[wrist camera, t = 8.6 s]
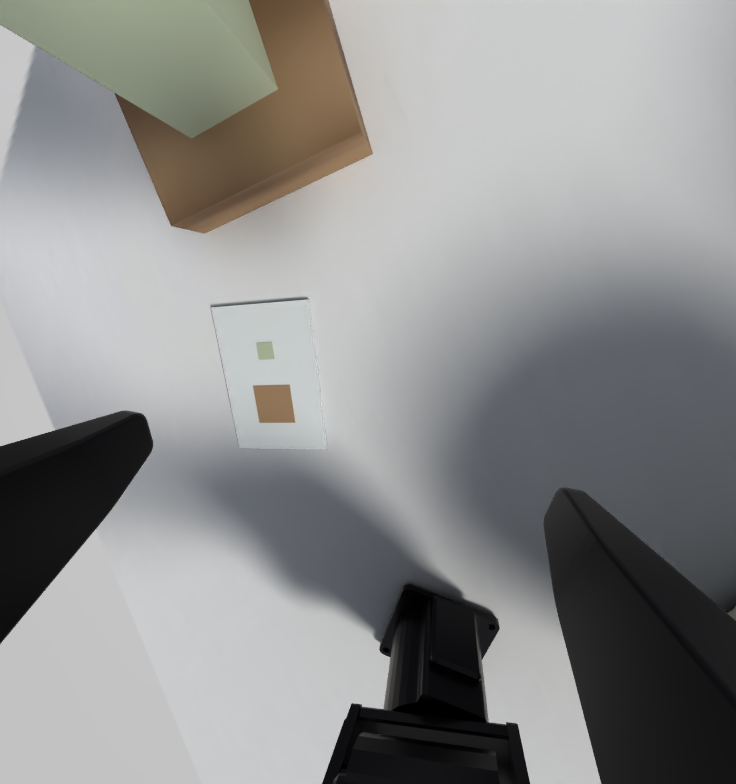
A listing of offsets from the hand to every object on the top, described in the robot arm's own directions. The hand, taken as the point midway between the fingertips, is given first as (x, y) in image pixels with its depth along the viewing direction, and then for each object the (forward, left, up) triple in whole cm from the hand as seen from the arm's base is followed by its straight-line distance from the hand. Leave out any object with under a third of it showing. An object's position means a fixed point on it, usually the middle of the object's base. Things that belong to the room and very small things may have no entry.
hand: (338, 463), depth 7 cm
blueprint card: (-4, +7, -12) cm, 15 cm away
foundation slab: (+10, +11, -12) cm, 19 cm away
